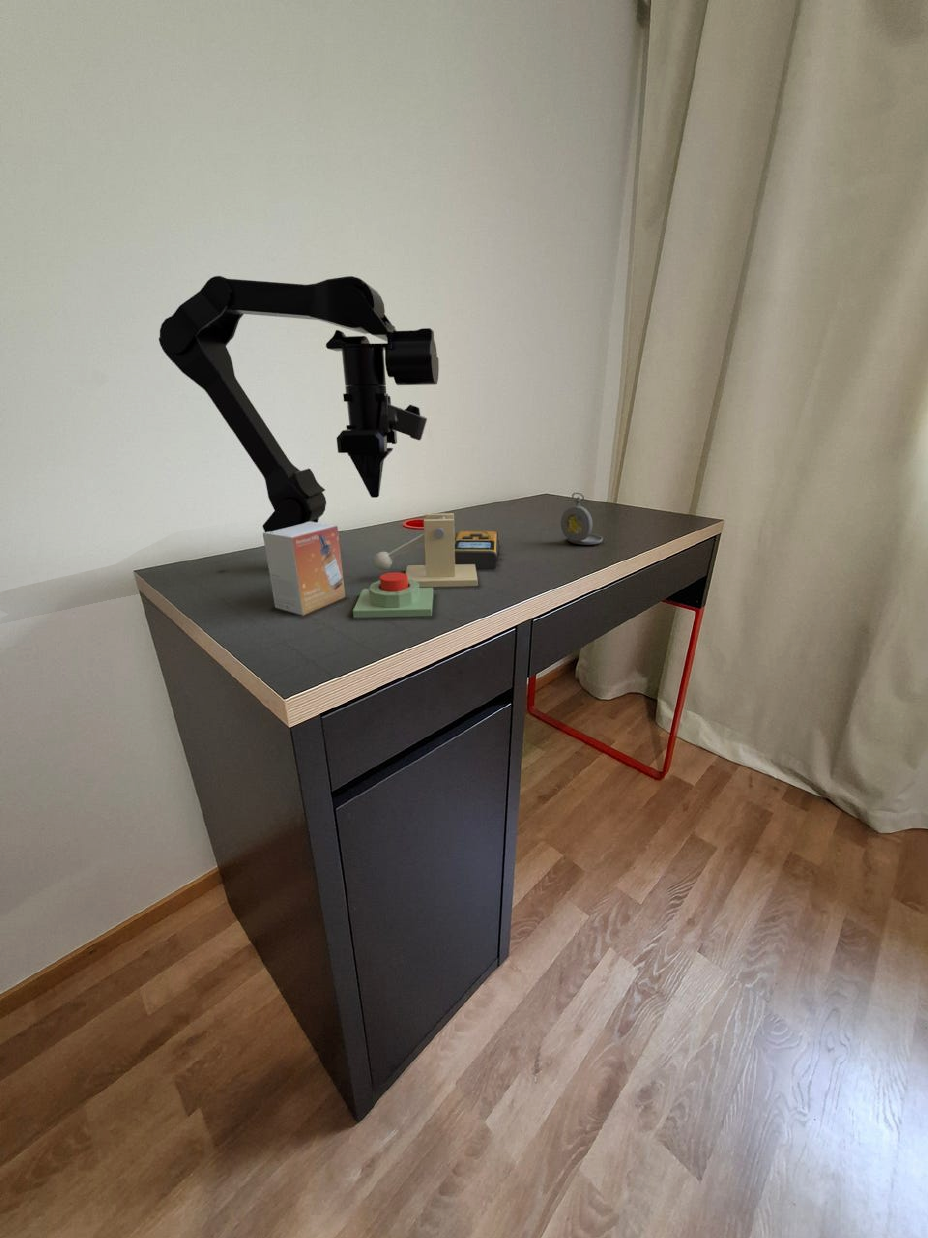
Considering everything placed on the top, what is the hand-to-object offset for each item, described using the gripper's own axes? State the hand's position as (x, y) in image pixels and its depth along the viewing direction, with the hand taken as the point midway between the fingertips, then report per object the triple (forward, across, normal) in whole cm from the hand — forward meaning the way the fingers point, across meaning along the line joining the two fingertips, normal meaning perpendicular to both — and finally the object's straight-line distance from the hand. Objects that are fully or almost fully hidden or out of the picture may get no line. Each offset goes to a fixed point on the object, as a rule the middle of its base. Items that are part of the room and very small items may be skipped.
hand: (375, 497), depth 76 cm
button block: (+12, -16, -4) cm, 20 cm away
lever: (+8, -5, -6) cm, 11 cm away
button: (+9, -16, -4) cm, 19 cm away
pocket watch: (+12, +15, -37) cm, 42 cm away
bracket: (+12, -5, -10) cm, 16 cm away
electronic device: (+12, +7, -16) cm, 21 cm away
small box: (+12, -14, +8) cm, 20 cm away
